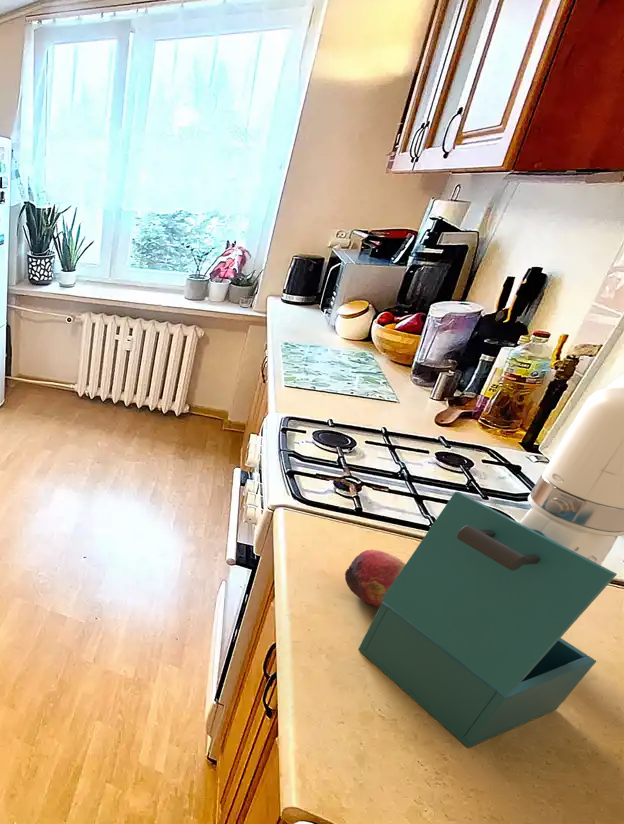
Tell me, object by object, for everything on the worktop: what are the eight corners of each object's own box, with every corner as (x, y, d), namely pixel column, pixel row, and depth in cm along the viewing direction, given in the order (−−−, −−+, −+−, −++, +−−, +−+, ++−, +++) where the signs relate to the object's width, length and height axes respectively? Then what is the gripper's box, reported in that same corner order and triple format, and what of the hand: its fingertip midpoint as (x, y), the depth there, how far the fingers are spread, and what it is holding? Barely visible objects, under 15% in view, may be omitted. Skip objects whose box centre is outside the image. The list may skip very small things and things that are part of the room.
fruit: (407, 626, 73) (431, 585, 70) (345, 611, 76) (365, 570, 72) (390, 588, 80) (411, 548, 76) (333, 575, 82) (351, 535, 79)
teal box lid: (459, 491, 59) (428, 490, 57) (617, 574, 48) (586, 577, 46) (385, 599, 66) (354, 602, 64) (509, 695, 54) (477, 702, 52)
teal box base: (438, 622, 74) (466, 576, 70) (556, 709, 63) (597, 661, 59) (357, 649, 70) (381, 602, 66) (467, 748, 58) (505, 698, 54)
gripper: (576, 540, 49) (489, 668, 58) (680, 509, 54) (585, 631, 62) (487, 496, 56) (420, 616, 64) (587, 471, 60) (512, 586, 69)
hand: (502, 622), depth 63 cm, fingers closed on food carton, 5 cm apart
